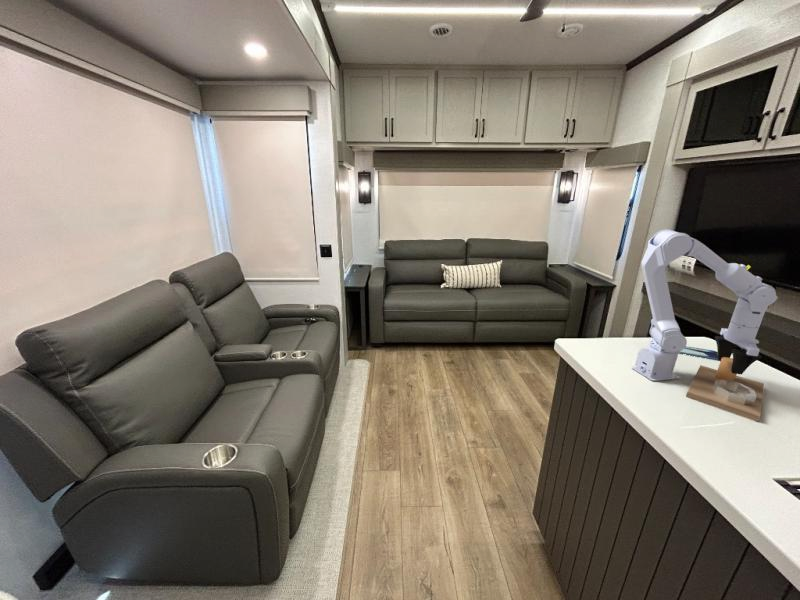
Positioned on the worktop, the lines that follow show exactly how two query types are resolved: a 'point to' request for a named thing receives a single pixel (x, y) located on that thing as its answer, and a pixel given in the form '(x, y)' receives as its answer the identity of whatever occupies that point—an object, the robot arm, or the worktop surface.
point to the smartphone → (700, 353)
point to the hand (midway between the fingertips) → (729, 366)
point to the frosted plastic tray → (734, 392)
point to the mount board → (704, 393)
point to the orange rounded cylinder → (725, 370)
